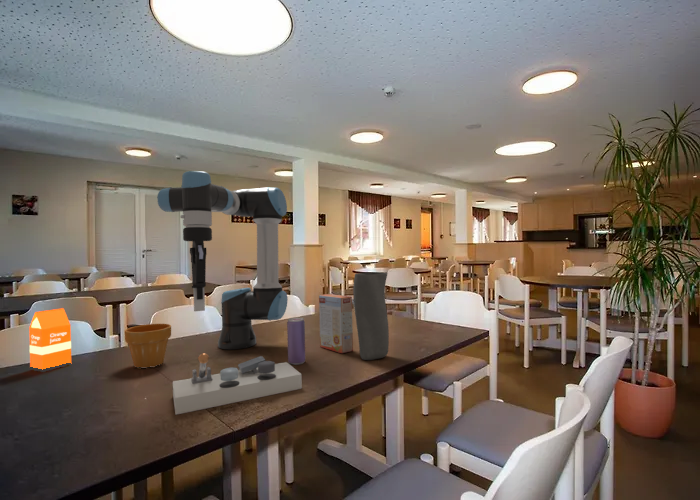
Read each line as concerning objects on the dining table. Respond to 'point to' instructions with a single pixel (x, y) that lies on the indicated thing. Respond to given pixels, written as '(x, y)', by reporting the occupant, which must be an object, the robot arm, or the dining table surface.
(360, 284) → the vase
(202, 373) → the lever
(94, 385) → the dining table surface
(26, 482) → the dining table surface
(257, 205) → the robot arm
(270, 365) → the button
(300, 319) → the beverage can
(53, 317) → the orange juice
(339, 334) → the cracker box
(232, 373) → the button
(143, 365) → the flower pot
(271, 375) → the console
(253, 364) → the block
